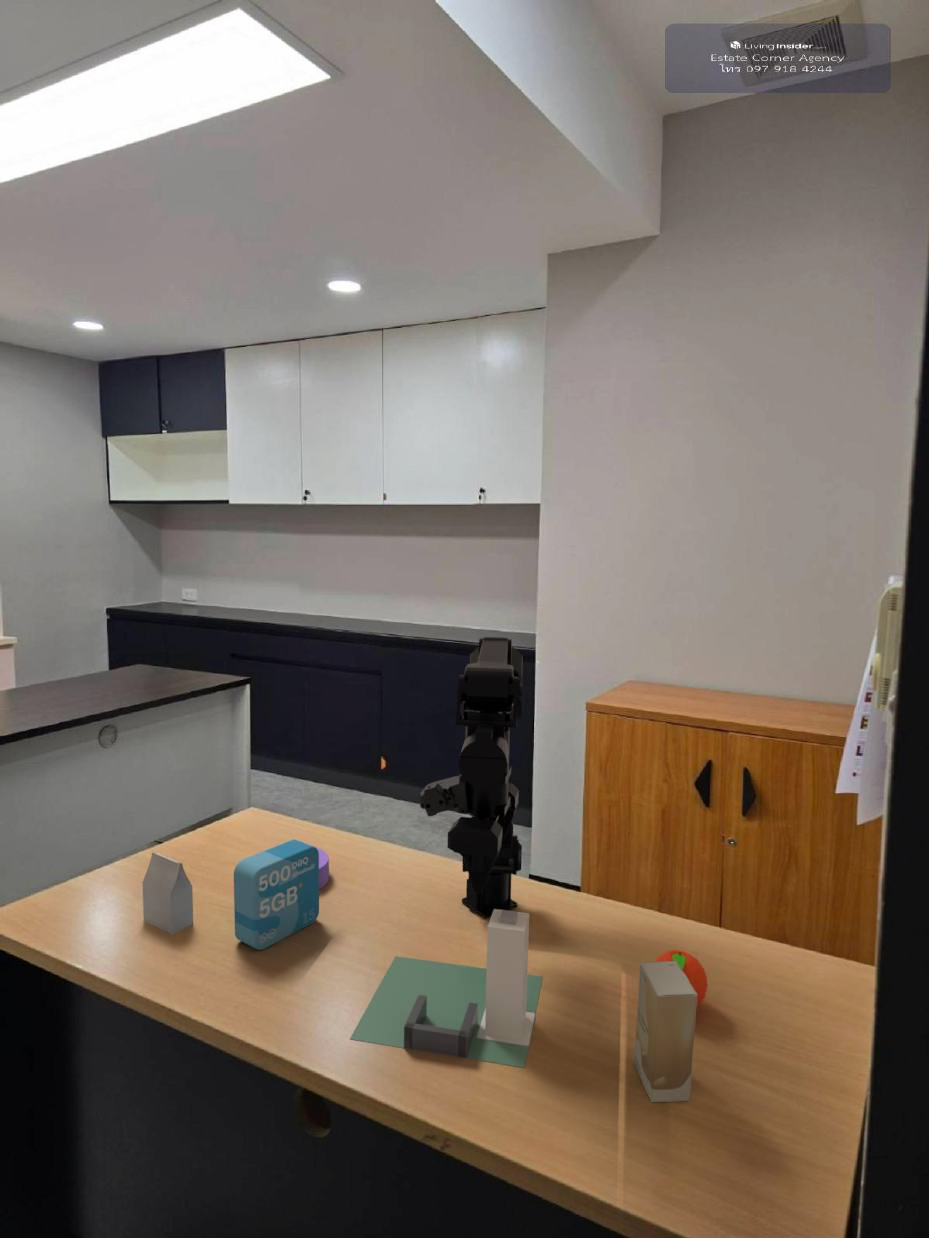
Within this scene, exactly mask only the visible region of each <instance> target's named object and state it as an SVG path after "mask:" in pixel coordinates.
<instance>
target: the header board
mask: <svg viewBox="0 0 929 1238" xmlns="http://www.w3.org/2000/svg"><path fill="white" fill-rule="evenodd" d="M384 974H385V975H384V976H383V978H382V979H381V982H380V984H379V985H378V987H377V988H376V991H375V992H374V994H373V996H372V997H371V1000H370V1001H369V1003H368V1005H367V1007H366V1008H365V1010H364V1012H363V1014H362V1016H361V1017H360V1019H359V1021H358V1023H357V1025H356V1027H355V1029H354V1031H353V1032H352V1034H351V1035H350V1038H349V1040H350V1041H357V1042H363V1043H370V1044H375V1045H383V1046H387V1047H394V1048H401V1049H406V1050H412V1051H418V1052H425V1053H430V1054H438V1055H441V1056H448V1057H449V1056H450V1057H454V1058H461V1059H466V1060H467V1059H468V1060H472V1061H479V1062H486V1063H492V1064H498V1065H502V1066H503V1065H504V1066H508V1067H517V1068H522V1069H525V1068H526V1063H527V1057H528V1055H529V1054H528V1053H529V1049H530V1042H531V1037H532V1032H533V1027H534V1023H535V1018H536V1014H537V1013H536V1012H537V1006H538V1001H539V996H540V992H541V987H542V983H543V976H542V975H536V974H535V975H534V974H528V973H527V1007H526V1020H525V1025H524V1029H523V1034H522V1039H517V1038H511V1037H504V1036H498V1035H492V1034H485V1018H486V974H487V968H486V967H485V968H484V967H477V966H469V965H465V964H464V965H463V964H454V963H448V962H441V961H435V960H434V961H433V960H428V959H427V960H426V959H419V958H418V959H417V958H414V957H413V958H411V957H405V956H398V955H395V956H394V958H393V960H392V962H391V964H390V965H389V967H388V968H387V971H386V972H385V973H384Z"/></svg>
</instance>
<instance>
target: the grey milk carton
mask: <svg viewBox="0 0 929 1238" xmlns="http://www.w3.org/2000/svg"><path fill="white" fill-rule="evenodd" d="M193 894H194V893H193V884H192V882H191V881H190V879H189V877H188V876H187V874H186V871H185V869H184V866H183V863H182V862H180V861H177V860H175V859H173V858H170V857H168V856H167V855H166V856H165V855H163V854H161V853H158V852H156V851H154V852H151V857H150V860H149V863H148V867H147V870H146V872H145V874H144V878H143V881H142V906H143V907H142V909H143V922H145V923H148V924H150V925H151V926H153V927H156V928H157V929H160V930H162V931H164V933H165V932H166V933H167V934H168V935H173V934H176V933H178V932H180V931H182V930H184V929H186V928H188V927H190V926H193V925H194V904H193V903H194V901H193V900H194V899H193V898H194V897H193V896H194V895H193Z"/></svg>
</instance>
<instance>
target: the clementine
mask: <svg viewBox="0 0 929 1238" xmlns="http://www.w3.org/2000/svg"><path fill="white" fill-rule="evenodd" d="M663 961H677V962H678V964H679V966H680V967H681V969H682V971H683V972H684V974H685V975H686V976H687V978H688V980H689V982H690V983H691V985H692V987H693V988H694V990H695V992H696V993H697V1007H698V1006H700V1004H701V1003H702V1002H703V1001H704V999H705V998H706V995H707V990H708V977H707V974H706V971H705V969H704V966H703V965H702V964H701V963H700V962H699V960H698V959H697V958H696V957H694V956H693V955H691V954H690V953H688V952H686V951H684V950H680V949H675V950H674V949H673V950H672V949H671V950H668V951H665V952H663V953H661V954H660V955H659V956H658V957H656V959H655V960H654V961H653V962H663Z"/></svg>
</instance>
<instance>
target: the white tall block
mask: <svg viewBox="0 0 929 1238" xmlns="http://www.w3.org/2000/svg"><path fill="white" fill-rule="evenodd" d="M529 928H530V913H529V912H523V911H521V912H520V911H514V910H499V909H494V910H493V913H492V916H491V917H490V920H489V923H488V924H487V931H486V933H487V935H486V936H487V938H486V969H487V974H486V1018H485V1034H492V1035H498V1036H504V1037H511V1038H517V1039H522V1034H523V1029H524V1025H525V1020H526V1007H527V974H528V972H529V971H528V968H529V966H528V964H529V963H528V962H529V934H530V933H529V932H530V929H529Z"/></svg>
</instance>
